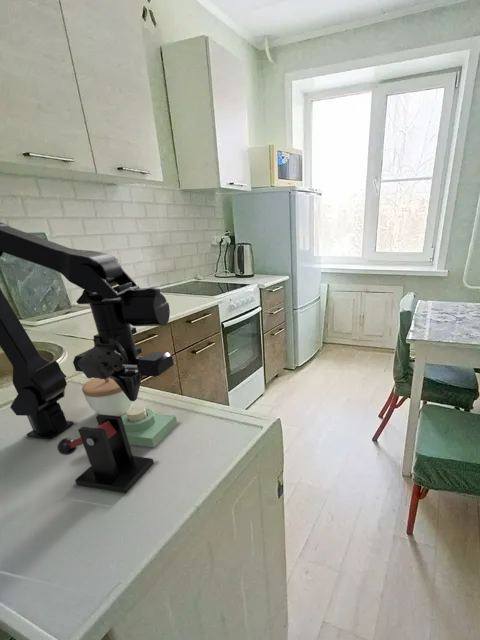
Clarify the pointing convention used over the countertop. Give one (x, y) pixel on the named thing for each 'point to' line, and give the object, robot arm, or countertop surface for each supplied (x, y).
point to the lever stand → (110, 458)
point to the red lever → (70, 445)
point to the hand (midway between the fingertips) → (133, 400)
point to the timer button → (136, 414)
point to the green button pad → (148, 428)
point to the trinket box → (106, 397)
